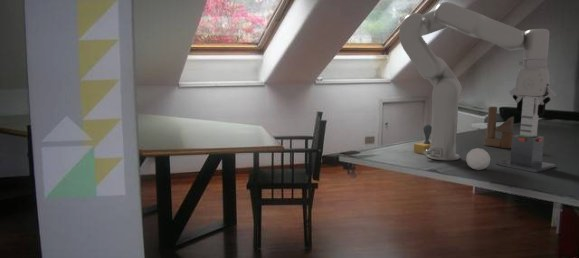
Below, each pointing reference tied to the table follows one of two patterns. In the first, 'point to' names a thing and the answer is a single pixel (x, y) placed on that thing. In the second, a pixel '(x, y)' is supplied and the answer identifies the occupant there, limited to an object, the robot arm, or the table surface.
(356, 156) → the table surface
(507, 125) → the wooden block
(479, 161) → the geometric ball
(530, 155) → the stand base
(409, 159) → the table surface
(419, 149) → the rubber stamp
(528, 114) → the column
